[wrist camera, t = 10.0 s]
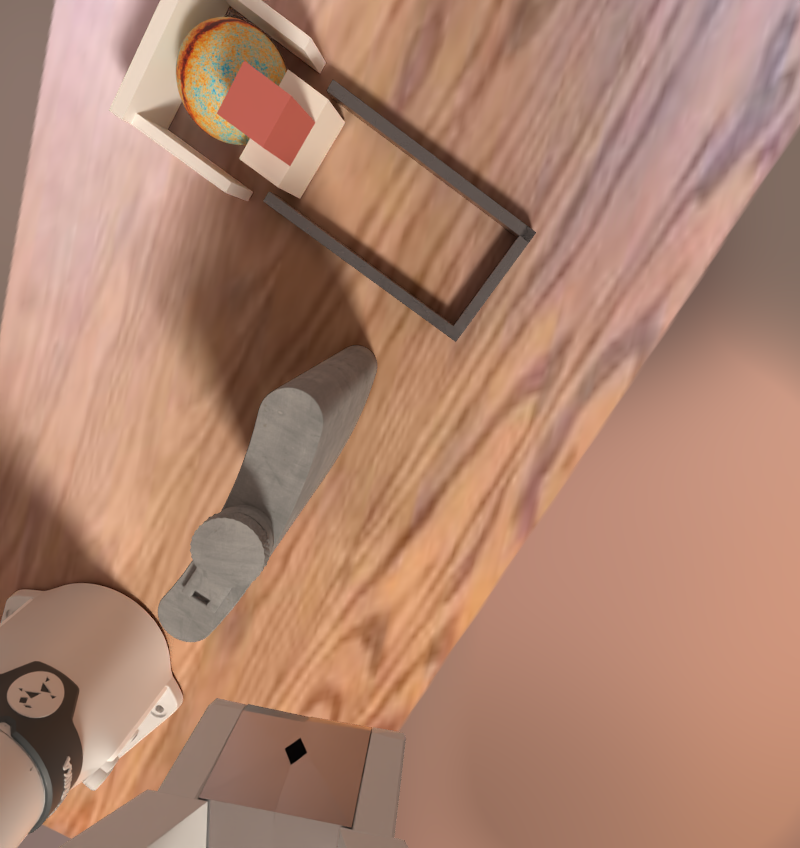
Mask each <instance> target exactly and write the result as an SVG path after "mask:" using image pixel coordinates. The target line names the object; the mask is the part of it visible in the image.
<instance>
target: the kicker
mask: <svg viewBox="0 0 800 848" xmlns="http://www.w3.org/2000/svg"><path fill="white" fill-rule="evenodd" d="M217 114H218V115H219V116H221V117H222V118H223V119H225V120H226V121H227V122H229V123H230V124H232V125H233V126H234V127H236V128H237V129H238V130H240V131H241V132H242V133H244V134H245V135H246V136H248V137H249V138H250V140H249V141H248V143H247V145H246V147H245V149H244V151H243V152H242V154H241V156H240V158H239V159H240V160H241V161H243V162H244V163H245V164H247V165H248V166H249V167H251V168H252V169H254V170H255V171H256V172H258V173H259V174H260V175H262V176H263V177H264V178H266V179H267V180H269V181H270V182H271V183H273V184H274V185H275V186H277V187H278V188H280V189H282V190H284V191H286V192H288V193H290V194H292V195H294V196H295V197H297V198H299V199H300V198H301V197H302V195H303V193H304V191H305V190H306V188H307V186H308V185H309V183H310V181H311V180H312V178H313V176H314V175H315V173H316V171H317V169H318V168H319V166H320V164H321V163H322V161H323V159H324V158H325V156H326V154H327V153H328V151H329V149H330V148H331V146H332V144H333V142H334V141H335V139H336V137H337V136H338V134H339V132H340V131H341V129H342V127H343V126H344V124H345V122H344V121H343V119H342V118H341V116H340V115H339V114H338V112H337V111H336V109H335V108H334V107H333V105H332V104H331V102H330V101H329V100H328V99H327V98H326V97H324V96H323V95H322V94H320V93H319V92H318V91H316V90H315V89H314V88H312V87H311V86H310V85H308V84H307V83H306V82H304V81H303V80H302V79H300V78H299V77H298V76H296V75H295V74H294V73H292V72H291V71H290V70H287V72H286V74H285V76H284V77H283V79H282V81H281V83H280V85H279V86H278V85H276V84H275V83H274V82H272V81H271V80H270V79H268V78H267V77H266V76H264V75H263V74H262V73H260V72H259V71H257V70H256V69H255V68H253V67H252V66H251V65H249V64H248V63H247V62H245V61H244V62H243V64H242V66H241V68H240V70H239V72H238V73H237V75H236V77H235V79H234V81H233V83H232V85H231V87H230V89H229V91H228V93H227V95H226V96H225V98H224V100H223V102H222V104H221V106H220V108H219V110H218V112H217Z"/></svg>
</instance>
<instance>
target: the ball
mask: <svg viewBox="0 0 800 848" xmlns="http://www.w3.org/2000/svg"><path fill="white" fill-rule="evenodd" d="M244 61H245V62H247V63H248V64H249V65H251V66H252V67H253V68H255V69H256V70H257V71H259V72H260V73H262V74H263V75H264V76H266V77H267V78H268V79H270V80H271V81H272V82H274V83H275V84H276V85H278V86H279V85H280V83H281V81H282V79H283V77H284V76H285V74H286V72H287V70H286V67H285V64H284V62H283V59H282V57H281V55H280V53H279V52H278V50H277V48H276V47H275V45H274V44H273V43H272V42H271V40H270V39H269V38H268V37H267V36H266V35H265V34H264V33H263V32H262V31H260V30H259V29H258V28H256V27H255V26H253V25H252V24H250V23H248V22H246V21H243V20H240V19H237V18H232V17H215V18H211V19H208V20H205V21H203V22H201V23H200V24H198V25H197V26H195V27H194V28H193V29H192V30H191V31H190V32H189V33H188V34H187V36H186V37H185V39H184V40H183V42H182V44H181V46H180V49H179V52H178V56H177V61H176V81H177V87H178V91H179V94H180V97H181V100H182V102H183V104H184V106H185V108H186V110H187V112H188V113H189V115H190V116H191V118H192V119H193V120H194V121H195V122H196V124H197V125H198V126H199V127H200V128H201V129H203V130H204V131H205V132H206V133H208V134H209V135H211V136H212V137H214V138H216V139H218V140H220V141H222V142H225V143H229V144H234V145H247V143H248V141H249V140H250V138H249V137H248V136H246V135H245V134H244V133H242V132H241V131H240V130H238V129H237V128H236V127H234V126H233V125H232V124H230V123H229V122H227V121H226V120H225V119H223V118H222V117H221V116H219V115H218V114H217V112H218V110H219V108H220V106H221V104H222V102H223V100H224V98H225V96H226V95H227V93H228V91H229V89H230V87H231V85H232V83H233V81H234V79H235V77H236V75H237V73H238V72H239V70H240V68H241V66H242V64H243V62H244Z"/></svg>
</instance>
